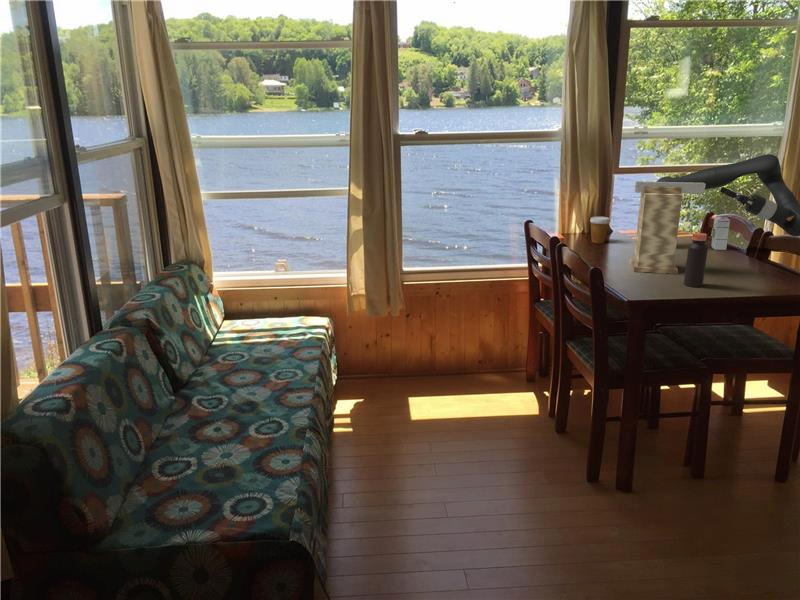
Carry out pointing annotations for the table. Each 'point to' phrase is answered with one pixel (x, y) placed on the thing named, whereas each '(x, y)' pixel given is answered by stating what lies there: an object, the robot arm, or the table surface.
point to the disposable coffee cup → (599, 229)
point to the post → (657, 230)
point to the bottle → (696, 261)
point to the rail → (686, 186)
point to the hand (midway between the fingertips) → (723, 190)
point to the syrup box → (720, 233)
